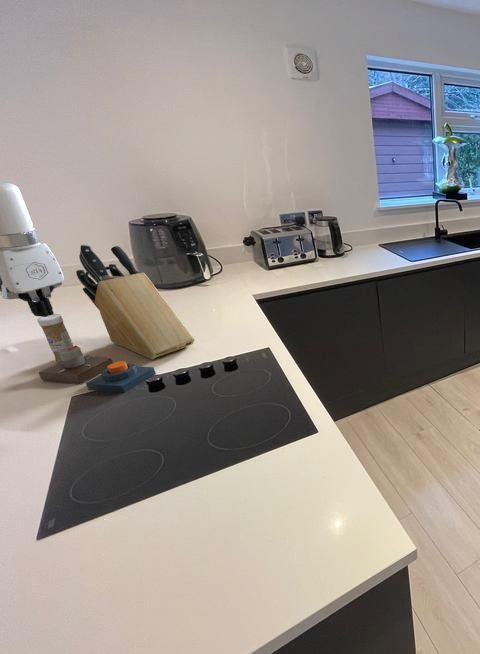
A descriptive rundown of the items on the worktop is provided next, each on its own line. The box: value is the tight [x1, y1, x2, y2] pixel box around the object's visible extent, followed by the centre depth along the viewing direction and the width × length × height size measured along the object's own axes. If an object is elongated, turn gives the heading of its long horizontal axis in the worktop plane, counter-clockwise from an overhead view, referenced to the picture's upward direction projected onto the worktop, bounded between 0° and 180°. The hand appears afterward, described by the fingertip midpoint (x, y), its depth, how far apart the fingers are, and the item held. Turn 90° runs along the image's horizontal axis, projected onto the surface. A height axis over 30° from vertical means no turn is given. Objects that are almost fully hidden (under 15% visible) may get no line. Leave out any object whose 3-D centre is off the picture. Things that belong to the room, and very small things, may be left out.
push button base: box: [85, 362, 157, 394], centre depth 106 cm, size 10×9×4 cm
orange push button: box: [107, 360, 128, 374], centre depth 105 cm, size 4×4×2 cm
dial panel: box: [37, 355, 114, 385], centre depth 109 cm, size 11×9×3 cm
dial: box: [58, 345, 86, 368], centre depth 108 cm, size 4×4×5 cm
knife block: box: [75, 244, 195, 360], centre depth 121 cm, size 11×35×31 cm, turn 64°
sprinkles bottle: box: [37, 313, 75, 362], centre depth 114 cm, size 5×5×13 cm
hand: (44, 315), depth 95 cm, fingers closed
